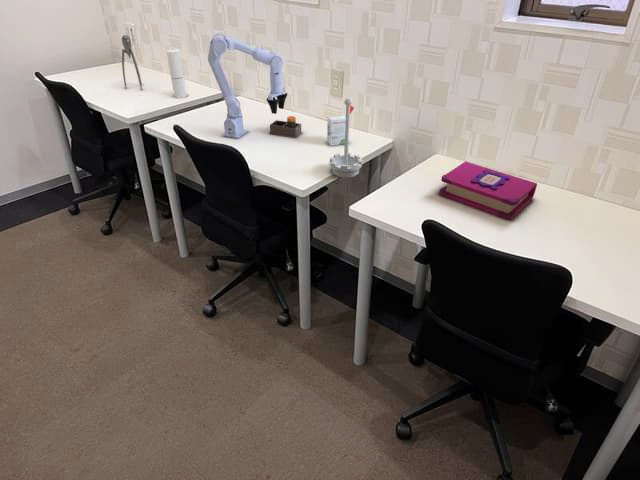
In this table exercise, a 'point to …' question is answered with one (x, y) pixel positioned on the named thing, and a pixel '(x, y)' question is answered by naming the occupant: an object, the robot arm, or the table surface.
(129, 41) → the juicer
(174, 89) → the cylindrical container
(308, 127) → the table surface
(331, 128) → the ink box
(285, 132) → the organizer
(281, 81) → the robot arm
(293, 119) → the grey and orange cylinder
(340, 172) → the flag stand
